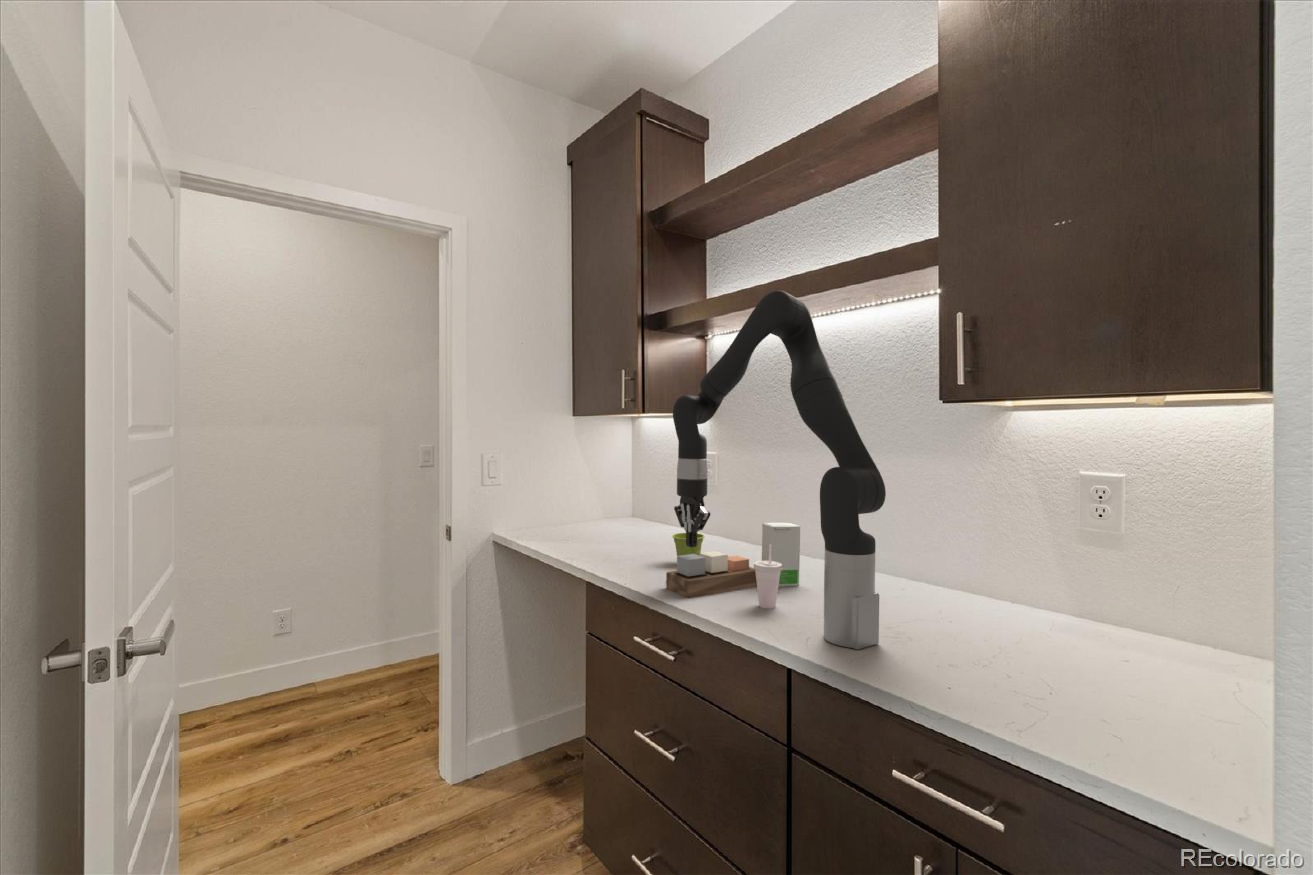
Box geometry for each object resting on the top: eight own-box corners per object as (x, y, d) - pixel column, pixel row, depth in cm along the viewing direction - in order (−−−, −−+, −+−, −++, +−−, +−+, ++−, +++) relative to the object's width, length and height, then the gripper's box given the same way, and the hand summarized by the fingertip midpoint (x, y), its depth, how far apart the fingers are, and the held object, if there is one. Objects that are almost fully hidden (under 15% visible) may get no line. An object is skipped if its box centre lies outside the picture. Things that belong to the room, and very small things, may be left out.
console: (759, 585, 152) (759, 570, 152) (688, 598, 140) (688, 581, 140) (735, 577, 160) (735, 562, 160) (666, 588, 149) (666, 572, 149)
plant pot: (694, 570, 167) (694, 539, 167) (666, 565, 173) (666, 536, 172) (710, 564, 175) (710, 534, 175) (682, 559, 180) (682, 531, 180)
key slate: (705, 573, 146) (705, 557, 146) (688, 576, 143) (688, 560, 143) (693, 569, 150) (693, 553, 150) (676, 572, 147) (677, 556, 147)
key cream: (727, 570, 149) (727, 554, 149) (711, 572, 147) (711, 556, 147) (715, 566, 154) (715, 551, 153) (699, 568, 151) (700, 553, 151)
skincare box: (770, 588, 150) (771, 526, 149) (759, 581, 156) (760, 522, 156) (800, 586, 152) (801, 525, 151) (789, 579, 158) (789, 521, 158)
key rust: (748, 574, 153) (749, 559, 153) (733, 577, 150) (733, 561, 150) (736, 570, 157) (736, 555, 157) (721, 572, 155) (721, 557, 155)
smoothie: (774, 612, 130) (774, 548, 130) (748, 606, 134) (748, 545, 134) (786, 605, 135) (787, 544, 135) (761, 600, 139) (761, 540, 139)
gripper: (720, 478, 142) (719, 550, 143) (689, 473, 154) (688, 540, 154) (695, 479, 138) (694, 553, 139) (665, 475, 150) (664, 543, 150)
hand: (691, 546), depth 147 cm, fingers closed
